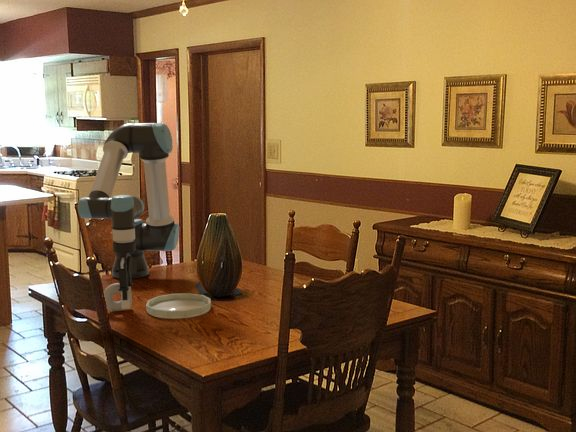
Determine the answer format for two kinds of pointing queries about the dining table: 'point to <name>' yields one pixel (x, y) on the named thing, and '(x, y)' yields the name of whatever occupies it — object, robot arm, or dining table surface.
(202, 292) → the dark slate chunk
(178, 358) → the dining table surface
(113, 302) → the donut
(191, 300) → the dish
